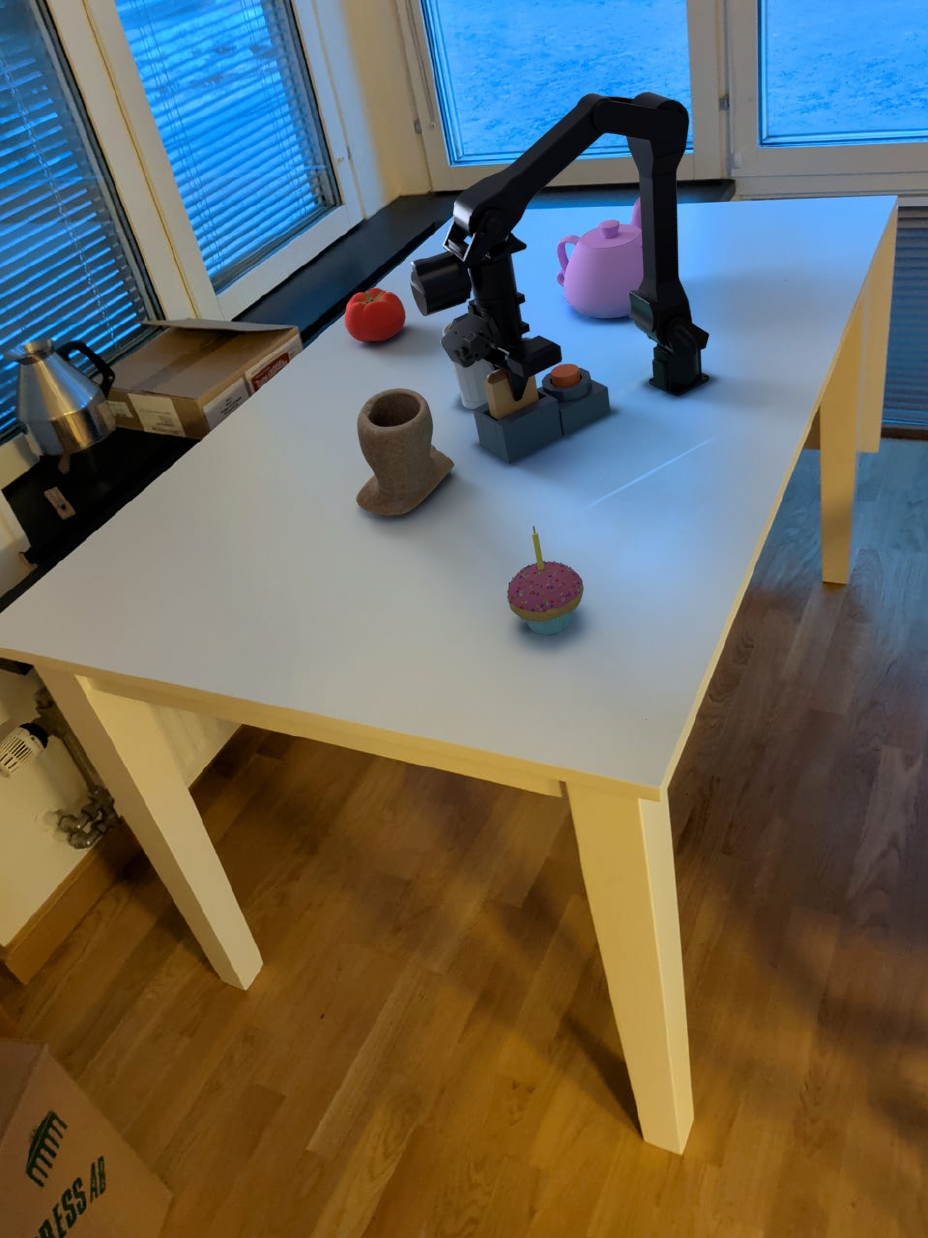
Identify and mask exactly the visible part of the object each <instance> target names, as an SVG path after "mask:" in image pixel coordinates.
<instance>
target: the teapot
mask: <svg viewBox="0 0 928 1238" xmlns="http://www.w3.org/2000/svg"><path fill="white" fill-rule="evenodd" d="M597 226H598V227H595V228H592V229H590V230H588V231H586V232H585V233H583V234H582V235H581V237H580V236H578V235H575V234H568V235H566V236H564V237H563V238H561V239H560V240H559V241H558V243H557V245H556V255H557V259H558V262H559V265H560V268H561V270H559V271H558V272H557V275H556V281H557V284H558V285H560V286H561V287H563V296H564V299H565V300H566V302H567V303H568V304H569V305H570V306H571V307H572V308H573V309H574V310H575V311H577V312H578V313H579V314H580V315H583V316H586V317H589V318H595V319H614V318H623V317H627V316H629V315H630V311H631V302H630V298H629V292H630V291H632V290H638V289H639V287H640V284H641V282H642V280H643V252H642V229H641V206H640V196H639V197H638V198H637V199H636V200H635V203H634V205H633V207H632V212H631V219H630V223H629V224H628V223H620V220H618V219H606V220H603V221H601V222H599V223H598V225H597ZM566 244H572V245H574V248H573V251H572V253H571V255H570V257H568V253H567V251H566Z"/></svg>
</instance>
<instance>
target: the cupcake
mask: <svg viewBox="0 0 928 1238" xmlns="http://www.w3.org/2000/svg"><path fill="white" fill-rule="evenodd" d="M532 530H533V532H532V533H531V537H532V542H533V548H534V554H535V559H536V562H535V563H531V564H527V565H526V566H525V567H522V568H521V569H520V570H519V571H518V572H517V573H516V574H515V576H512V578H511V581H509V582H508V588H507V591H506V595H507V596H506V598H507V602H508V605H509V608H510V611H511V612H512V613H514V614H515V615H516V616H518V617H519V618H520V619H521V620H523V621H525V623H526V624H527V626H528V627H529V629H530V630H531V631H532V632H533V633H536V634H538V635H543V636H551V635H556V634H558V633H560V632H562V631H564V629H566V628H567V627H568V626H569V624H570V621H571V617H572V612H573V611H574V610H576V609H577V608H578V606H579V605H580V603H581V602H582V598H583V594H584V583H583V582H584V581H583V579H582V577H580V574H579V573H577V572H576V570H575V569H573V568H572V567H571V566H569V565H567V564H563V563H562V562H556V561H555V560H553V561H550V560H549V561H548V560H547V561H546V560H544V559H543V555H542V549H541V543H540V537H539V532H537V531H536V526H535V525H532Z"/></svg>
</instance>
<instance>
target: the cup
mask: <svg viewBox="0 0 928 1238" xmlns="http://www.w3.org/2000/svg"><path fill="white" fill-rule="evenodd" d="M452 321H453V320H451V321H450V322H448V323H446V325H444V327H443V328H442V331H441V332H442V337H444V336H445V335H446V334H447V333H448V332H449V331H450V329H449V327H450V325H451V323H452ZM449 359H450V358H449ZM450 362H451V363H450V364H451V366H452V370H453V373H454V376H455V380H456V384H457V386H458V389H459V395H460V398H461V402H462V405H463V406H464V407H465V408H467V409H471V410H473V409H475V408H477V407H479V406H481V405H483V404H485V403H487V402H488V399H487V394H486V388H485V383H484V380H486V379H487V376H488V375H489V374H490V373H491V372H492V370H491V369H490V367H489V365H488V363H487V362H486V361H485V360H484V359H481V360H480V361H475V363H474V364H473V365H472V366H470V367H468V368H464V367H462V366H461V365H460V364H458V363H456V362H453V361H451V359H450Z"/></svg>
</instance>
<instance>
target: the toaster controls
mask: <svg viewBox="0 0 928 1238" xmlns="http://www.w3.org/2000/svg"><path fill="white" fill-rule="evenodd" d="M579 373H580V381H579V382H578V383H576V384H574V385H572V386H568V387H556V386H554V385H553V384H552V378H551V371H550V372H548V373H546V375H545V376H544V377H543V378H542V380H541V386H539V387H537V389H539V390H541V391H543V392H545V393H547V394H548V395H550V396H552V397H554V398H556V399H557V401H558V408H559V415H560V422H561V429H562V437H567V436H569V435H571V434H572V433H574V432H576V431H577V430H580V429H582V428H584V427H585V426H588V425H589V424H592V423H593V422H596V421H598V420H599V419H601V418H604V417H605V416H607V415H609V414H610V413H611V404H610V395H609V394H610V393H609V387H608V386H606V385H604V384H602V383H600V382H598V381H596V380H594V379H592V376H591V373H590V371H589V370H587V369H584V368H583V367H579Z"/></svg>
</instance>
